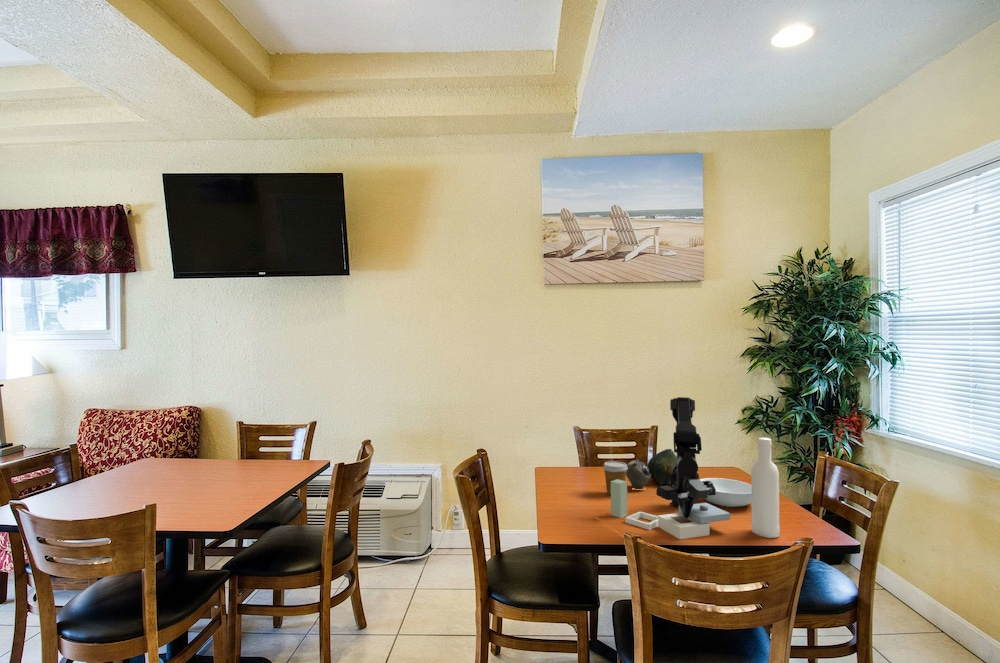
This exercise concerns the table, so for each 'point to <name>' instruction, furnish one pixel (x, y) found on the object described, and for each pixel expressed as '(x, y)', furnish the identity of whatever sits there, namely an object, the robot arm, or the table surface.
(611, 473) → the disposable coffee cup
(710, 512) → the lid
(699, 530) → the lidded well
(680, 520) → the walnut block
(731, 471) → the table surface
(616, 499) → the sage post
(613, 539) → the table surface
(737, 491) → the serving bowl
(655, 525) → the post well
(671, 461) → the squash
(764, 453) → the bottle
